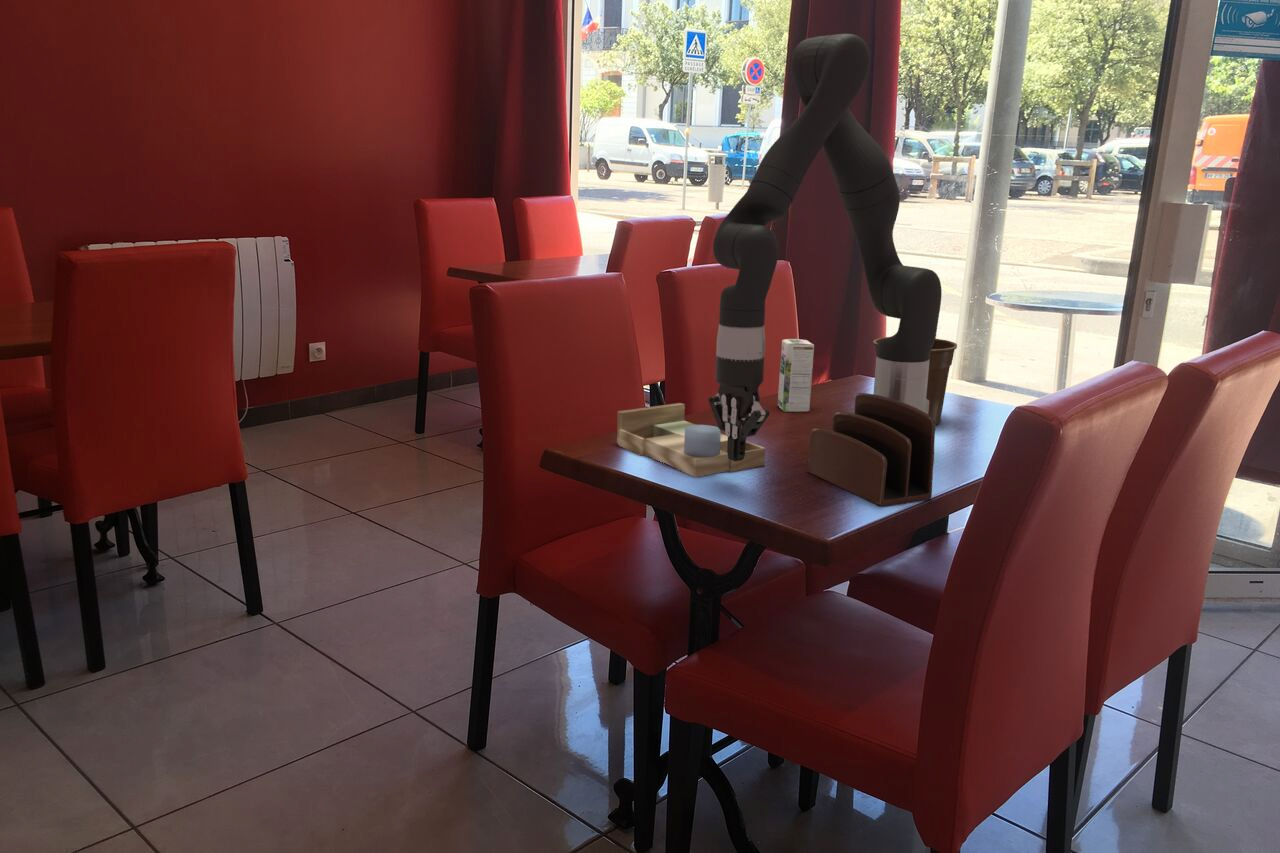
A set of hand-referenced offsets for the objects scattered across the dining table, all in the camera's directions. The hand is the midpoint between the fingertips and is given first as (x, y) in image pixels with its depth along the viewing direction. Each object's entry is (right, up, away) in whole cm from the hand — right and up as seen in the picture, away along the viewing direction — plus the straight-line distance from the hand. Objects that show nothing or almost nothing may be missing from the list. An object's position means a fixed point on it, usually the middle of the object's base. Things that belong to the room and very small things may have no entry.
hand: (735, 459), depth 166 cm
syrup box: (+17, +9, +52) cm, 56 cm away
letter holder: (+21, -5, +2) cm, 22 cm away
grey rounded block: (-5, +1, +7) cm, 9 cm away
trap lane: (-7, 0, +17) cm, 18 cm away
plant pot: (+39, +6, +45) cm, 60 cm away
